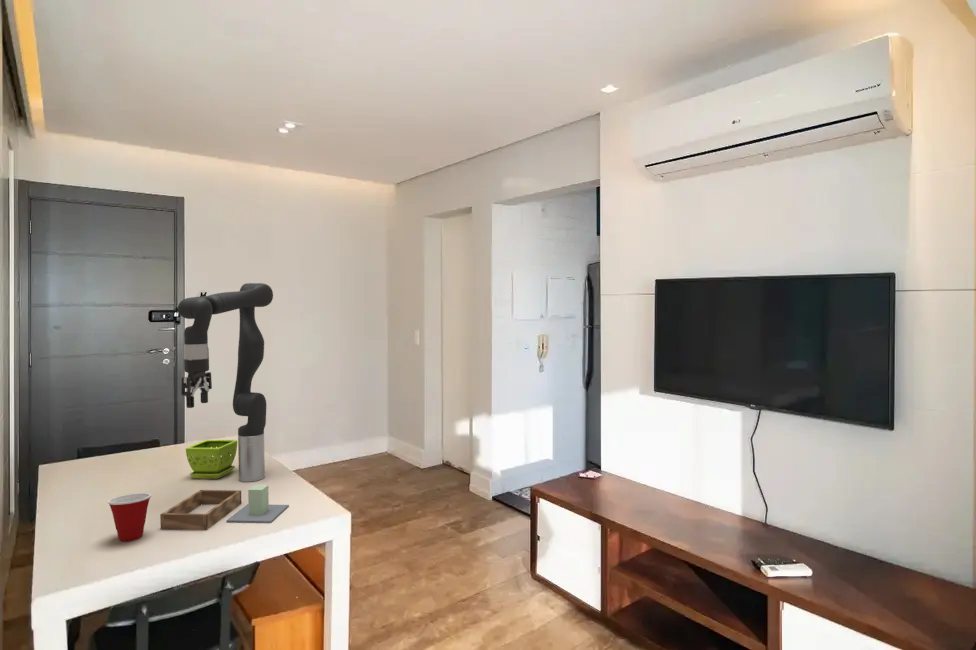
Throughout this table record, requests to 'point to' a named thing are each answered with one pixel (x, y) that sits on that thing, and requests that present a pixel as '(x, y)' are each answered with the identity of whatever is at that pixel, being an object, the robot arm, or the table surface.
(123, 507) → the plastic cup
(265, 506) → the sage block
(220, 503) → the wooden frame
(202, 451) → the flower pot
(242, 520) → the slate mat
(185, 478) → the table surface
